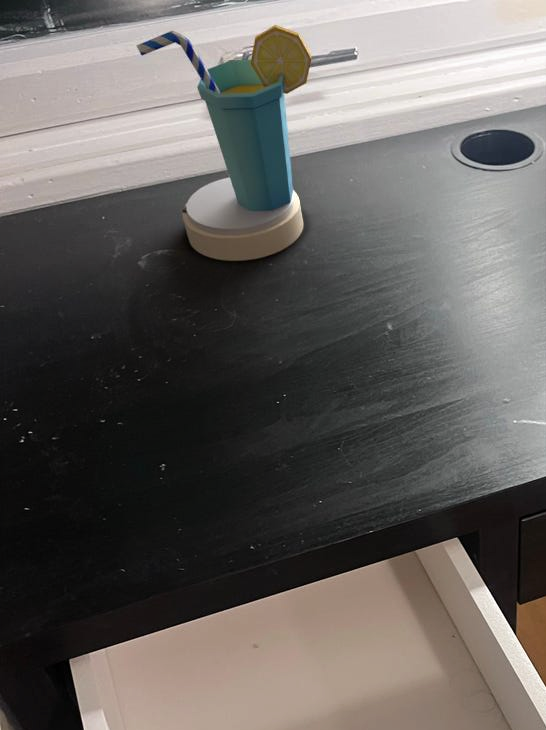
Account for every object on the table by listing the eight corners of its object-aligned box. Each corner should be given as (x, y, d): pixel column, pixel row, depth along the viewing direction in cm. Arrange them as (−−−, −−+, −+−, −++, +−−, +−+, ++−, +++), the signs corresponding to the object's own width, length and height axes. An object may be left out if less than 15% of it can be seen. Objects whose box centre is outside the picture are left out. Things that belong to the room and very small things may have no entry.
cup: (191, 235, 89) (142, 55, 77) (174, 196, 94) (126, 20, 82) (339, 202, 92) (314, 23, 80) (316, 166, 97) (289, -9, 85)
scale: (169, 255, 93) (160, 224, 91) (217, 197, 99) (209, 167, 97) (278, 268, 91) (272, 237, 89) (319, 208, 98) (315, 178, 95)
